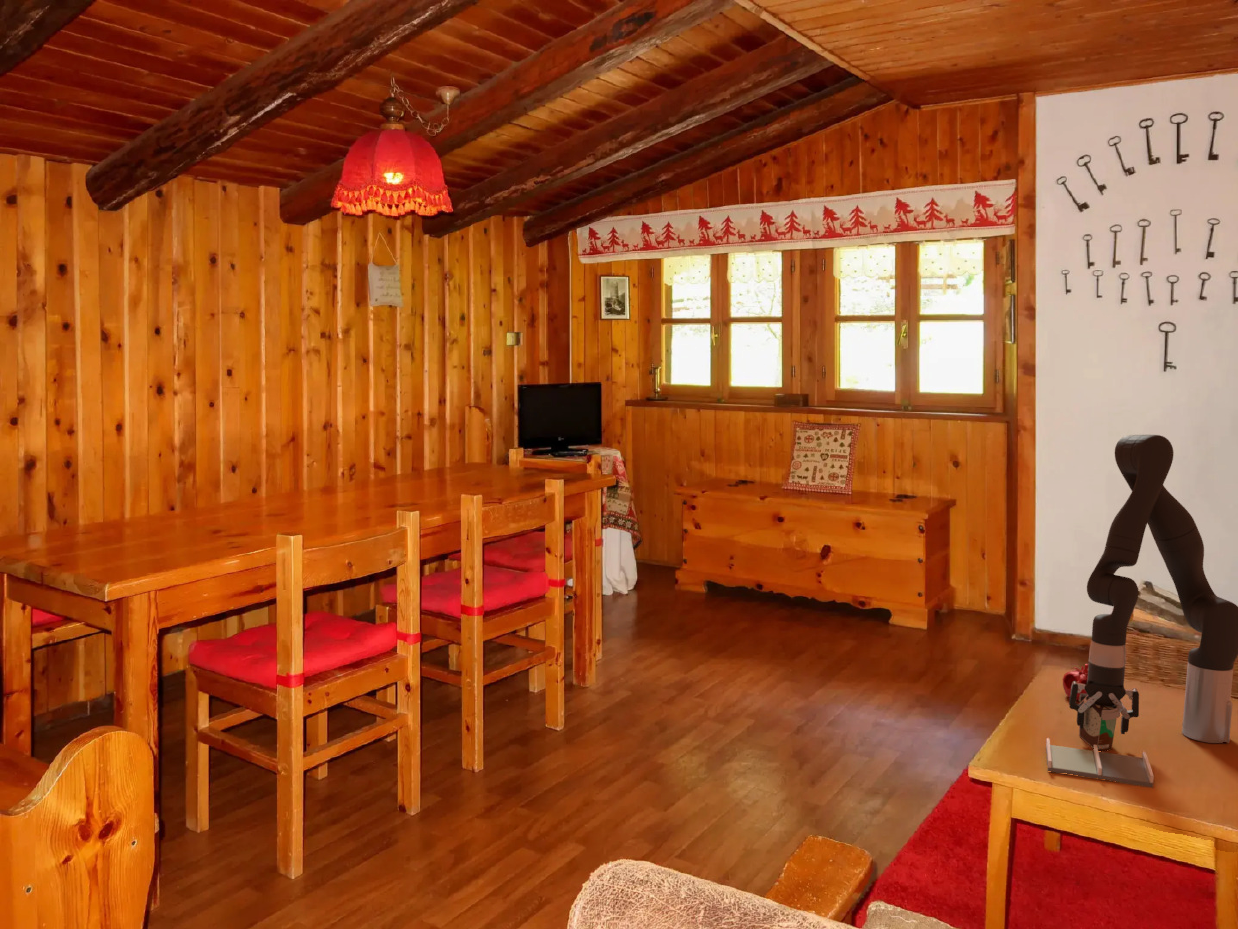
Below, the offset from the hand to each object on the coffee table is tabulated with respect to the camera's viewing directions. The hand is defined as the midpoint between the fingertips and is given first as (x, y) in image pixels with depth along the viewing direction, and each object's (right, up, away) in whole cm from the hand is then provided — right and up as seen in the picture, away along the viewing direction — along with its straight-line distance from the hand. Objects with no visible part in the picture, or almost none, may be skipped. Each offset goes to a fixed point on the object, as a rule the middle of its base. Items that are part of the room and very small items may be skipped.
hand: (1101, 730), depth 235 cm
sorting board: (-7, -5, -13) cm, 15 cm away
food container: (0, -3, 0) cm, 4 cm away
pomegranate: (+10, 0, +32) cm, 33 cm away
